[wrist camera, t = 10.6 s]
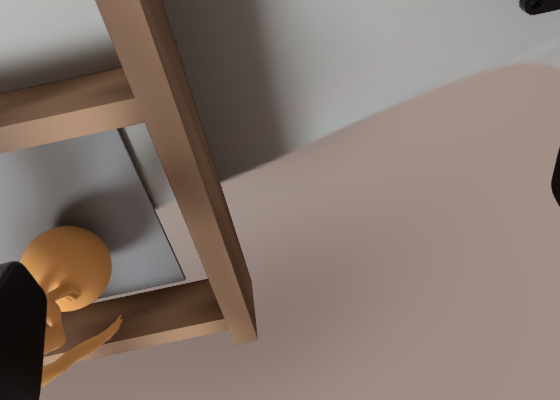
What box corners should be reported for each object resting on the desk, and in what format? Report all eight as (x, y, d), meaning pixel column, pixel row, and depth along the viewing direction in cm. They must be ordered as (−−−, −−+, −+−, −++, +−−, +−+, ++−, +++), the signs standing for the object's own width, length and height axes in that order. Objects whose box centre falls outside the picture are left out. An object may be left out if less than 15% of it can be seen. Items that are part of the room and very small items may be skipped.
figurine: (23, 285, 26) (-76, 553, 17) (-57, 205, 22) (-243, 494, 13) (169, 242, 25) (151, 495, 16) (113, 151, 21) (46, 414, 12)
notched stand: (5, -489, 11) (-72, -605, 8) (251, 281, 28) (257, 339, 25) (-549, -361, 11) (-840, -426, 8) (34, 327, 28) (14, 391, 25)
